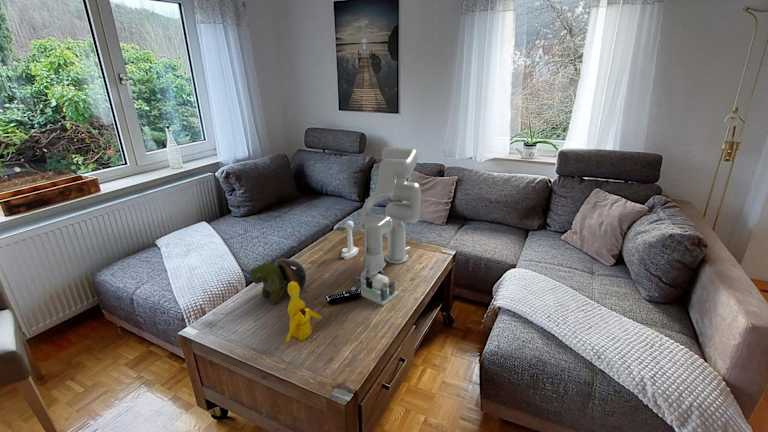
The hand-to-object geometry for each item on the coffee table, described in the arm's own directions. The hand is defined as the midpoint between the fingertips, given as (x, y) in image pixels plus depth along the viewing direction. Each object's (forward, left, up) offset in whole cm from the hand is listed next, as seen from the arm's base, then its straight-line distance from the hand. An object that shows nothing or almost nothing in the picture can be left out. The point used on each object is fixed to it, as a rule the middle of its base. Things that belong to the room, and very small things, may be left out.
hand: (374, 284), depth 166 cm
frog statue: (+27, -32, -5) cm, 42 cm away
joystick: (-21, -36, -5) cm, 42 cm away
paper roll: (0, 0, -1) cm, 1 cm away
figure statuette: (+39, -4, -5) cm, 39 cm away
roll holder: (0, 0, -5) cm, 5 cm away
